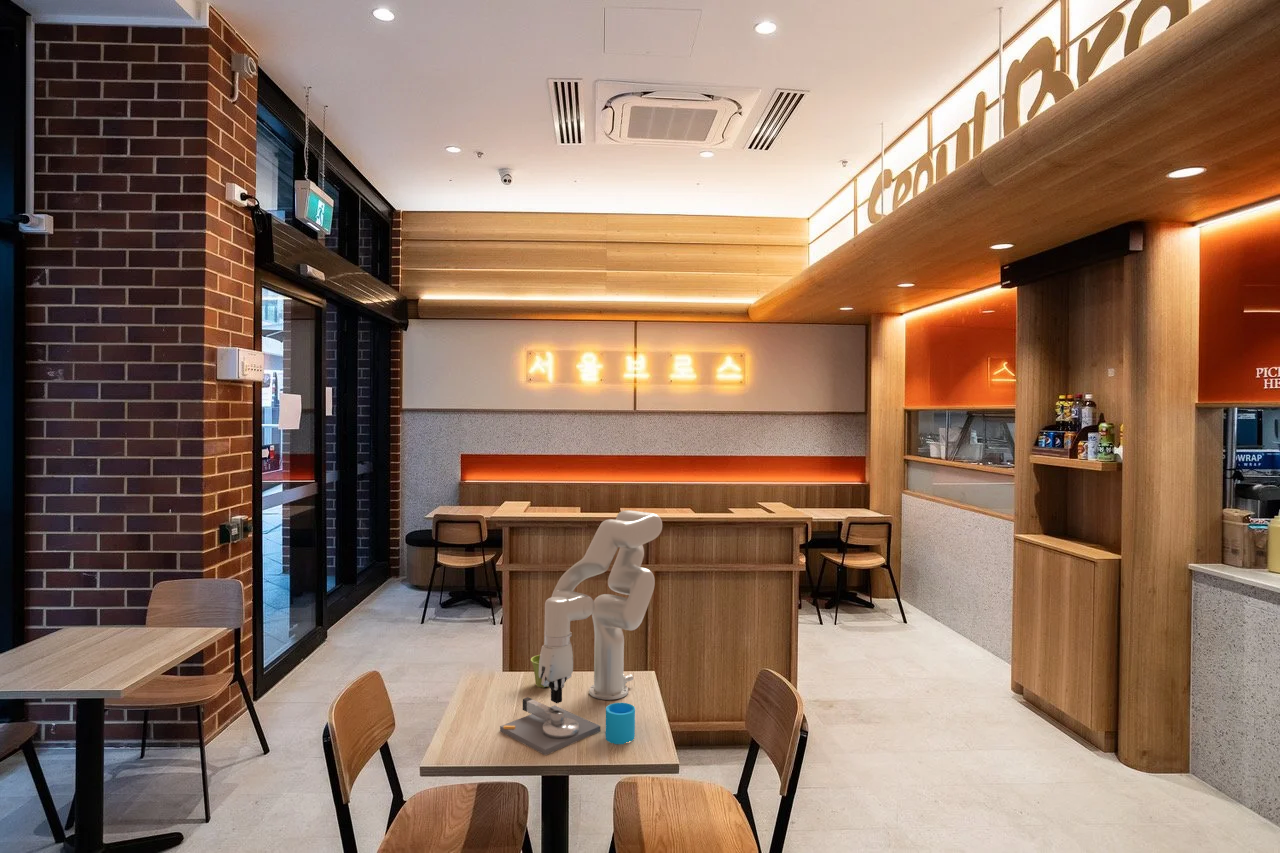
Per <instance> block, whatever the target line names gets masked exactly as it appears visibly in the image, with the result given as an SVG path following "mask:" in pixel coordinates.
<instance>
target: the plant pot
mask: <svg viewBox="0 0 1280 853" xmlns="http://www.w3.org/2000/svg"><path fill="white" fill-rule="evenodd" d="M539 660H540V654H538V655H534V656H532V657H531V658H530V662H531V663H532V664H531V665H532V666H533V667H532V668H533V672H534V673H533V674H534V681H535V685H536V687H537V688H541V687H542V689H543V688H546V687H547V688H549V686H543V685H541V682H542V679H541V678H539Z"/></svg>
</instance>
